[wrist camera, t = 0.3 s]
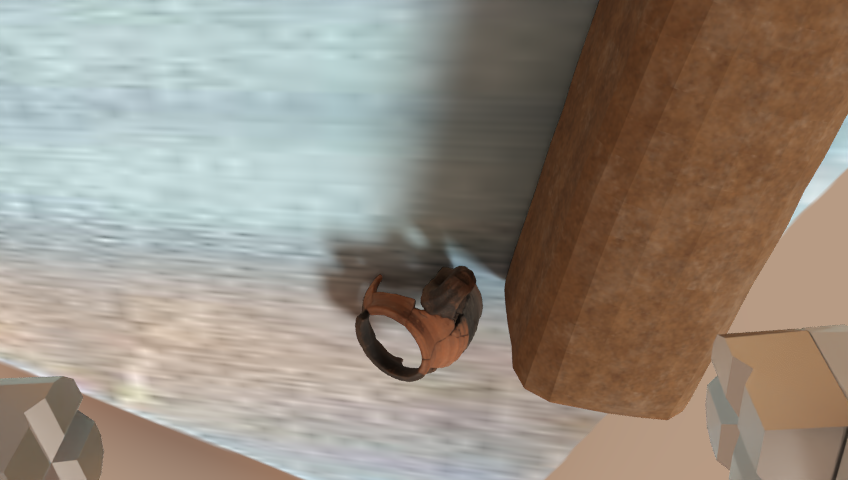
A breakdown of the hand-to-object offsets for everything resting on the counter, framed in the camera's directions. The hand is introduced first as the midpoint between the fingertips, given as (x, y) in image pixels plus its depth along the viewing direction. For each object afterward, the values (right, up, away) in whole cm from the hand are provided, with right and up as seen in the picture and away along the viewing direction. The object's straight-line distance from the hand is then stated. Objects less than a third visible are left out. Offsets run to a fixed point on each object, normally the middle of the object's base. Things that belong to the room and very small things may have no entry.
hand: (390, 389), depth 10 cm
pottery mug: (+1, -2, +58) cm, 58 cm away
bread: (+17, +11, +49) cm, 53 cm away
